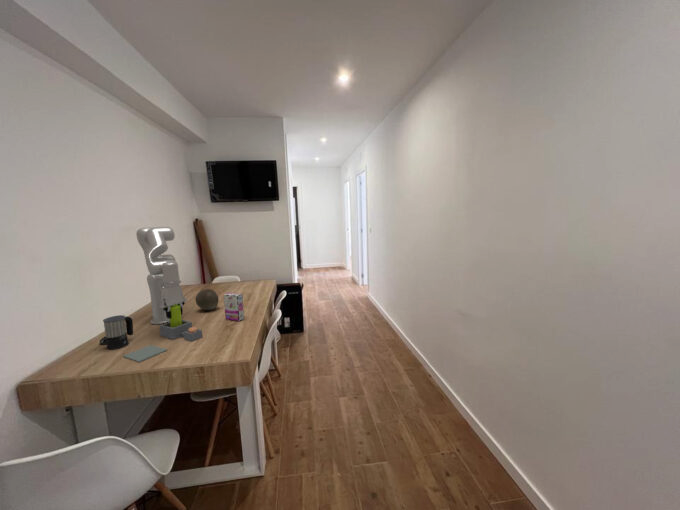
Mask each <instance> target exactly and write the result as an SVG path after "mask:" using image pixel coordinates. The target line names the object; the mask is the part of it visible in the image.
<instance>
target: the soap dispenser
mask: <svg viewBox="0 0 680 510" xmlns="http://www.w3.org/2000/svg"><path fill="white" fill-rule="evenodd" d="M170 311H171V318H169V319H170V327H172V328H174V327H177V326H180V325H182V320H183V319H182V315H181V309H180V305H177V304H176V303H175V305H173V306H171V308H170Z"/></svg>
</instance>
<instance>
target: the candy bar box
mask: <svg viewBox="0 0 680 510" xmlns="http://www.w3.org/2000/svg"><path fill="white" fill-rule="evenodd" d="M223 300H224V301H223V303H224V313H225V314H224V315H225V316H224V317H225V320H226V319H229V320H228V321H233V320H236V321H235V322H240V320H241V321H243V320H245V315H244V314H245V313H244V312H245V310H244V297H243V293H232V292H228V293H225V294H223ZM242 319H243V320H242Z"/></svg>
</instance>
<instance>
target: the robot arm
mask: <svg viewBox="0 0 680 510" xmlns="http://www.w3.org/2000/svg"><path fill="white" fill-rule="evenodd" d="M136 239H137V242H138V243H139V244H138V245H140V247H141V249H142V251H143V253H144V259H145V264H146V267H147V269H148V270H147V271H148V272H149V274H148V275H147V276H146V281H147V284H148V289H149V294H150V302H151V311H152V314H151V316H150V317H152V319H150V324H151V325H163V323H164V324H166V323H167V322H168V323H169V322H170V319H169V318H171V311H170V308H171V306H173V305H175V303H176V304H177V305H180V309H181V316H183V315H184V314H183V311H184V310H183V308H184V305H185V304H186V302H187V301H188V298H186V297H185V296H184V293H183V289H182V286H181V285H180V284H181V283H182V281H181V280H180V274H179V264H178V262H177V261H176V258H175V257H174V255H173V254H164V253H166V252H167V251H168V248H169V245H168V243H167V242H169V241H170V242H171V241H173V240H174V239H175V231H174V229H173V228H172V227H170V226H155V227H153V226H152V227H142V228H139V229H137V231H136Z"/></svg>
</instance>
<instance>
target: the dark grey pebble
mask: <svg viewBox="0 0 680 510" xmlns="http://www.w3.org/2000/svg"><path fill="white" fill-rule="evenodd" d="M195 303H196V306H198V308H200V309H201V310H204V311H212V310H215V309H216V308H217V307H218V305H219V296H218V294H217V293H216V291H215V290H213V289H210V288H207V289H202V290H200V291H199V292H197V293H196V295H195Z"/></svg>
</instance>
